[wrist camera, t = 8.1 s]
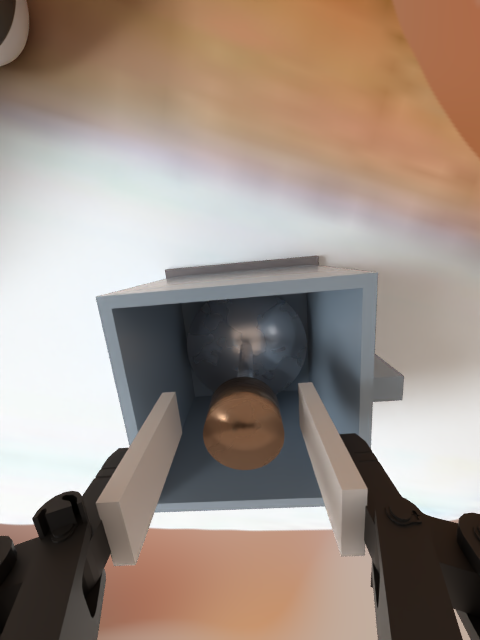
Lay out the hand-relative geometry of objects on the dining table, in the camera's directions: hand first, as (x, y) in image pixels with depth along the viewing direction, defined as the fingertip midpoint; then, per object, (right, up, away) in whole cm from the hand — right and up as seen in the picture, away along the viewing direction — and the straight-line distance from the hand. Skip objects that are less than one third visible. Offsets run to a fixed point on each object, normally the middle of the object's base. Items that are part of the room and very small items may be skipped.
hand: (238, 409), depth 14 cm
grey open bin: (+1, +3, +15) cm, 15 cm away
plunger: (+1, +2, +11) cm, 11 cm away
